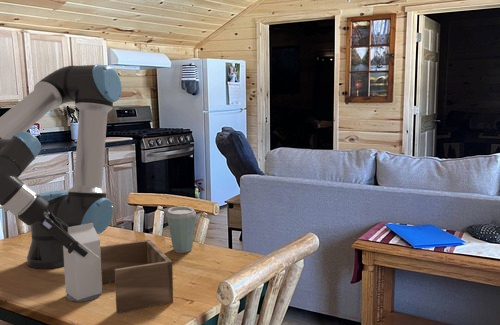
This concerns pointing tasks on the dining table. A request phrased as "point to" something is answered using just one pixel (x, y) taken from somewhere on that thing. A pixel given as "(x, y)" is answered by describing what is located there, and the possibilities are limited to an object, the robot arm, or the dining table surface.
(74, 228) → the milk carton
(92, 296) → the disc
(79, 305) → the dining table surface
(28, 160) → the robot arm
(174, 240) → the disposable coffee cup
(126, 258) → the walnut cubby
